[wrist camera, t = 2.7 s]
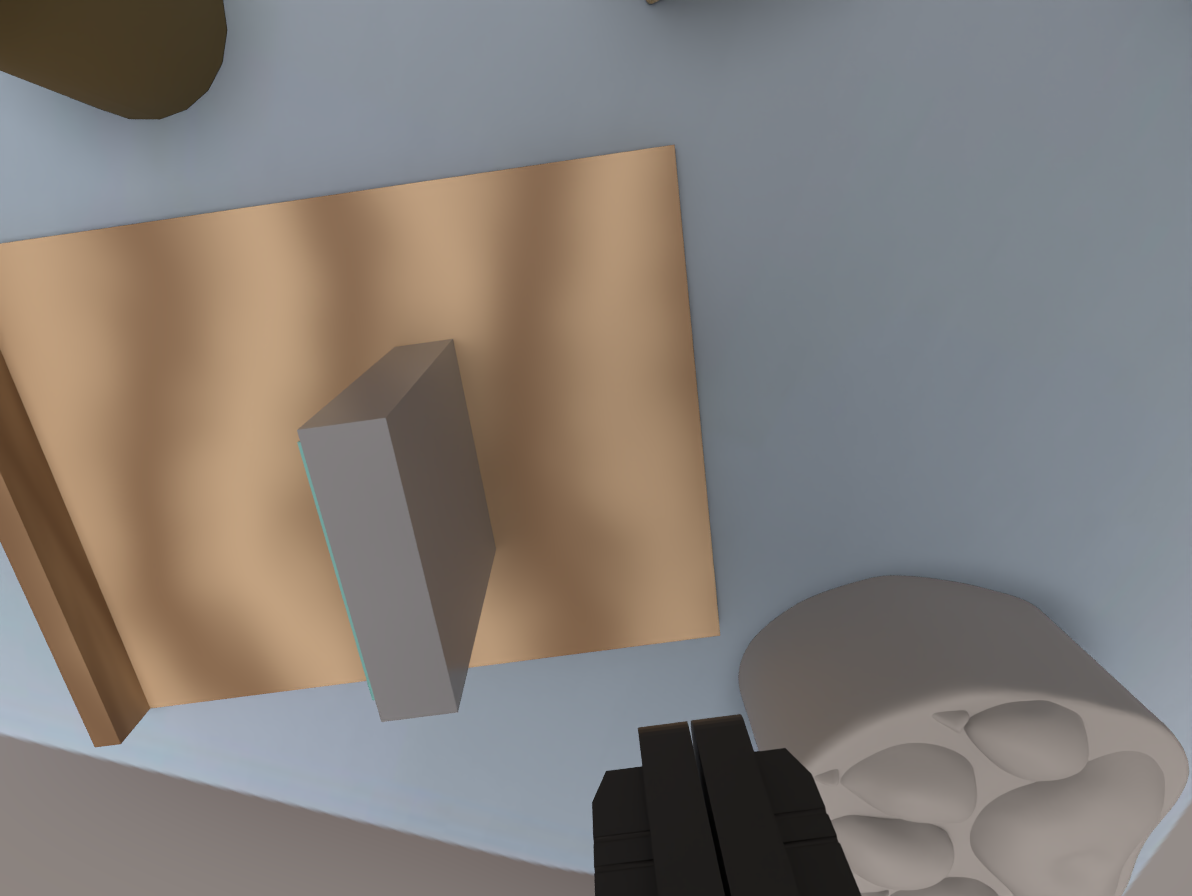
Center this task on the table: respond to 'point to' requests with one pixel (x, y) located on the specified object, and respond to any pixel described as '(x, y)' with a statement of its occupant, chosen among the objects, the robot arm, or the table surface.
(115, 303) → the oak board
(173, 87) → the olive pepper mill
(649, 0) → the skincare box
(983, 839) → the lumpy-topped squat cylinder
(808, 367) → the table surface
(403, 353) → the slate tile
